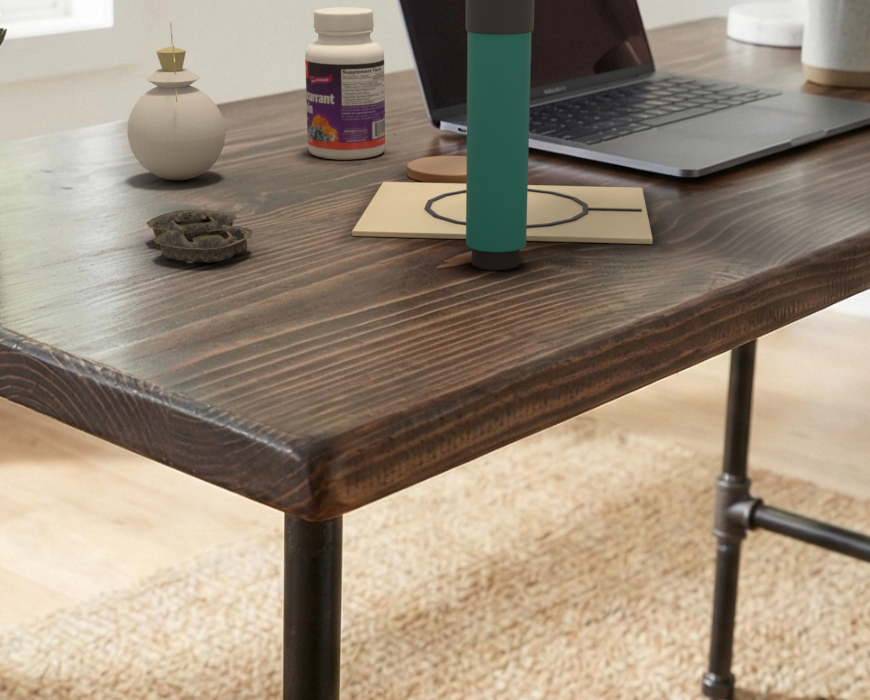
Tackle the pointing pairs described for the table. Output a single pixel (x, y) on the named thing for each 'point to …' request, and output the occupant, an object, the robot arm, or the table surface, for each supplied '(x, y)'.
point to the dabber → (497, 130)
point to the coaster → (439, 169)
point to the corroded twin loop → (199, 235)
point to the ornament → (175, 122)
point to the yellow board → (546, 213)
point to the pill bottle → (345, 86)
